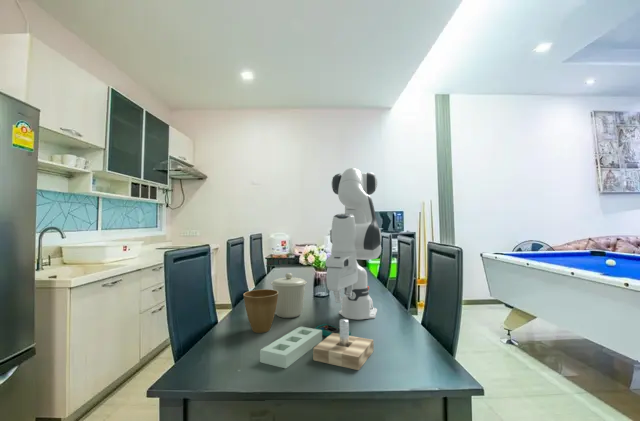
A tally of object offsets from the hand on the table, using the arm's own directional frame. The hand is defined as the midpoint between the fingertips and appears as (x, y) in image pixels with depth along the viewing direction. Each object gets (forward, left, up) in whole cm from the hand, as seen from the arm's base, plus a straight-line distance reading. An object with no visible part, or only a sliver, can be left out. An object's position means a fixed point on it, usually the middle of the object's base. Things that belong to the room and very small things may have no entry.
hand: (343, 299), depth 105 cm
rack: (+4, -18, -19) cm, 27 cm away
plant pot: (-8, -42, -19) cm, 47 cm away
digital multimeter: (-17, -12, -20) cm, 29 cm away
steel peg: (0, 0, -19) cm, 19 cm away
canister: (-32, -43, -19) cm, 57 cm away
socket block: (0, 0, -19) cm, 19 cm away
